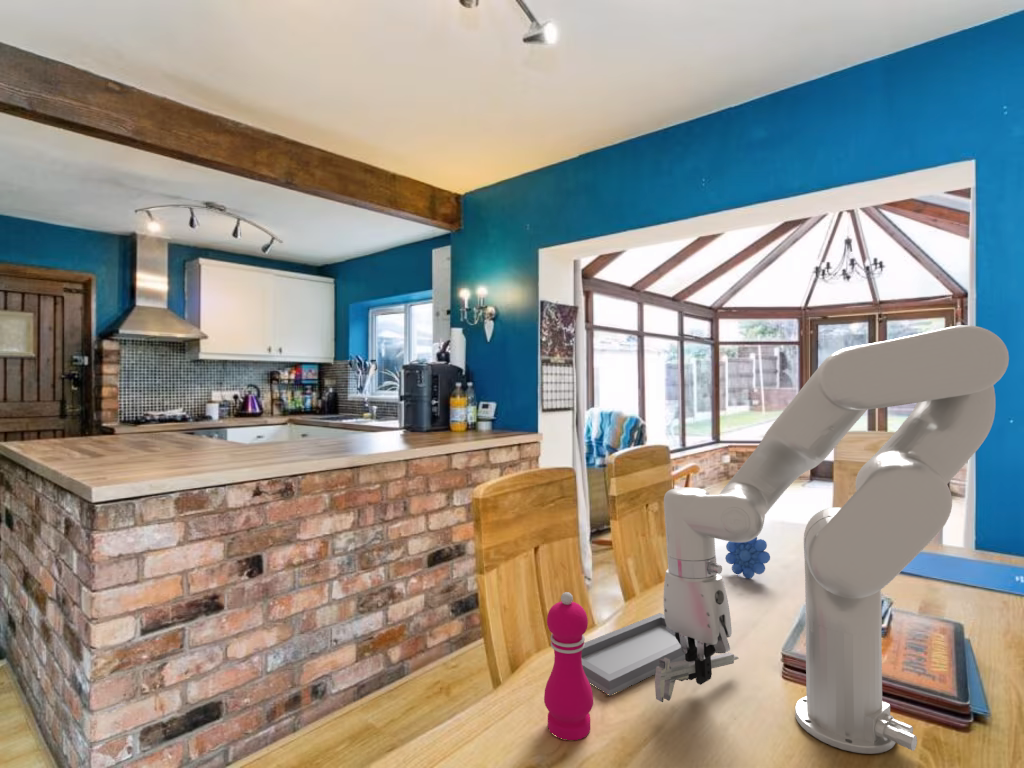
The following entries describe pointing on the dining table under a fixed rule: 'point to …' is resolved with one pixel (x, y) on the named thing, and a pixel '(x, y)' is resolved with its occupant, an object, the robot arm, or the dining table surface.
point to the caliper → (681, 673)
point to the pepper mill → (568, 672)
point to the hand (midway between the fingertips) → (699, 678)
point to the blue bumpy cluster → (747, 557)
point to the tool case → (629, 654)
